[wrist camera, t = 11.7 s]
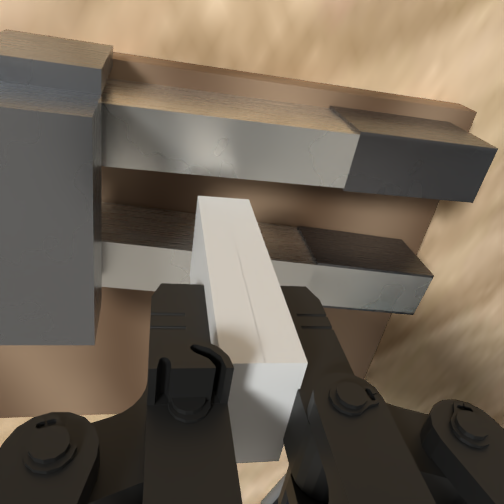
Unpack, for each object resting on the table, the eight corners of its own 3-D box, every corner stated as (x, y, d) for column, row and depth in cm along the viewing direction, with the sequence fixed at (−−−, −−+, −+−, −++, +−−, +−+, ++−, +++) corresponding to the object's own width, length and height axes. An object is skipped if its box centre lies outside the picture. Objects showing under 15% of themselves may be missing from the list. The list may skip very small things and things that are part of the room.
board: (459, 104, 18) (476, 112, 17) (345, 389, 27) (352, 405, 26) (-272, -6, 13) (-309, -3, 12) (-120, 400, 21) (-134, 422, 20)
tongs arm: (419, 201, 19) (468, 245, 16) (384, 275, 21) (422, 327, 18) (-102, 115, 14) (-172, 157, 11) (-86, 224, 16) (-141, 285, 13)
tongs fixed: (449, 122, 17) (498, 148, 15) (397, 252, 21) (430, 292, 18) (-285, 20, 12) (-400, 36, 10) (-207, 218, 15) (-278, 269, 13)
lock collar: (112, 45, 14) (91, 88, 9) (110, 244, 18) (94, 345, 13) (6, 29, 13) (-74, 67, 9) (27, 239, 17) (-21, 345, 12)
